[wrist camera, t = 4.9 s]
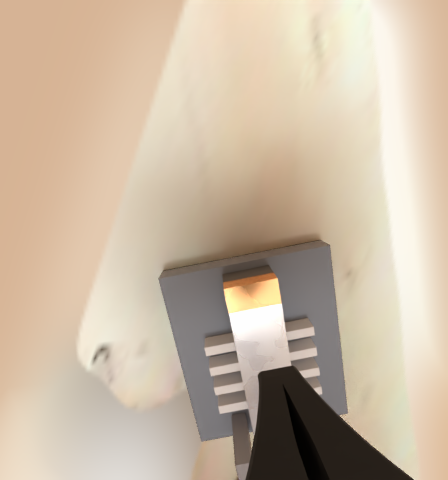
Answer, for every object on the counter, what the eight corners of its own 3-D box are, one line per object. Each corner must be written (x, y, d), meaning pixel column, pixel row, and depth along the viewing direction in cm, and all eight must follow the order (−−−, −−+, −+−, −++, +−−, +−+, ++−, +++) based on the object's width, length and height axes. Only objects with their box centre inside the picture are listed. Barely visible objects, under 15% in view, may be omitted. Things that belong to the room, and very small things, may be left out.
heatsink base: (338, 397, 21) (376, 462, 16) (202, 423, 21) (198, 496, 16) (320, 240, 18) (359, 261, 13) (163, 271, 18) (144, 303, 13)
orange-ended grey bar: (300, 437, 18) (305, 451, 17) (256, 445, 18) (259, 460, 17) (273, 272, 16) (277, 278, 15) (223, 282, 16) (223, 289, 15)
